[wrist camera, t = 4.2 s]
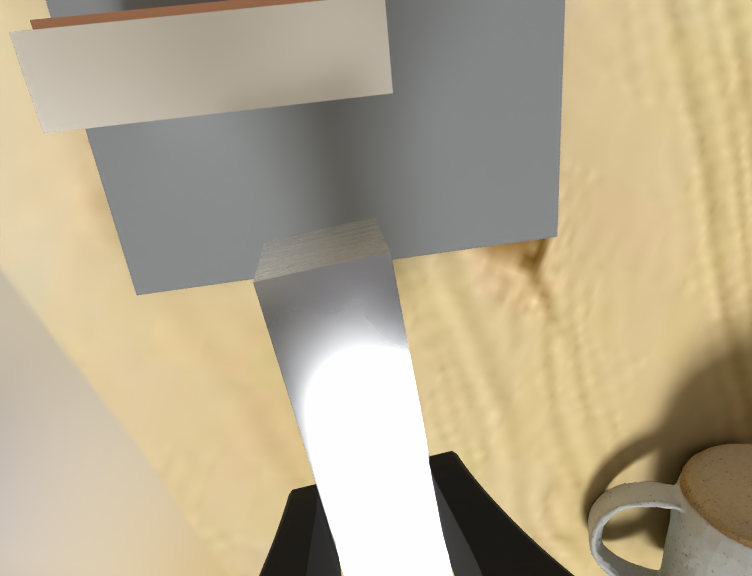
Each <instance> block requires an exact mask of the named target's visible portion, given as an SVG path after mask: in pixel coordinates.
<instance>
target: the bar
mask: <svg viewBox="0 0 752 576" xmlns="http://www.w3.org/2000/svg"><path fill="white" fill-rule="evenodd" d="M253 283H254V287H255V290H256V293H257V296H258V299H259V303H260V306H261V309H262V312H263V315H264V319H265V322H266V325H267V328H268V331H269V335H270V338H271V341H272V344H273V347H274V351H275V354H276V357H277V360H278V363H279V367H280V370H281V373H282V376H283V380H284V383H285V386H286V389H287V392H288V396H289V399H290V402H291V405H292V408H293V412H294V415H295V418H296V421H297V424H298V428H299V431H300V434H301V437H302V440H303V444H304V447H305V450H306V453H307V456H308V460H309V463H310V466H311V469H312V472H313V476H314V479H315V482H316V485H317V488H318V492H319V495H320V498H321V501H322V504H323V508H324V511H325V514H326V517H327V520H328V524H329V527H330V530H331V533H332V536H333V540H334V543H335V546H336V549H337V552H338V556H339V559H340V562H341V565H342V568H343V572H344V575H345V576H452V573H451V568H450V562H449V557H448V553H447V550H446V546H445V543H444V539H443V535H442V530H441V525H440V520H439V515H438V509H437V504H436V499H435V494H434V488H433V483H432V478H431V473H430V467H429V464H431V463H430V457H429V452H428V447H427V441H426V436H425V431H424V426H423V420H422V415H421V410H420V405H419V399H418V394H417V389H416V384H415V378H414V373H413V368H412V363H411V357H410V352H409V347H408V342H407V336H406V331H405V326H404V320H403V315H402V310H401V305H400V299H399V294H398V289H397V284H396V278H395V273H394V268H393V263H392V257H391V252H390V250H389V248H388V245H387V243H386V241H385V239H384V237H383V234H382V232H381V230H380V228H379V226H378V223H377V221H376V219H375V217H371V218H367V219H362V220H358V221H353V222H348V223H344V224H339V225H335V226H330V227H326V228H321V229H316V230H312V231H307V232H303V233H298V234H294V235H289V236H284V237H280V238H275V239H271V240H266V241H265V242H264V245H263V249H262V252H261V256H260V260H259V263H258V267H257V270H256V274H255V277H254V281H253Z"/></svg>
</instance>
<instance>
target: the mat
mask: <svg viewBox="0 0 752 576" xmlns="http://www.w3.org/2000/svg"><path fill="white" fill-rule="evenodd" d="M218 1H228V0H46V3H47V6H48V9H49V12H50V16H51V18H57V17H67V16H77V15H87V14H97V13H107V12H117V11H127V10H137V9H147V8H157V7H168V6H178V5H188V4H198V3H208V2H218ZM385 5H386V16H387V28H388V40H389V52H390V64H391V75H392V87H393V93H391V94H382V95H373V96H364V97H356V98H347V99H338V100H330V101H321V102H312V103H304V104H295V105H286V106H278V107H269V108H260V109H252V110H243V111H234V112H225V113H217V114H208V115H199V116H191V117H182V118H173V119H165V120H156V121H147V122H139V123H130V124H121V125H113V126H104V127H95V128H87V129H86V132H87V136H88V139H89V142H90V145H91V149H92V152H93V155H94V158H95V162H96V165H97V168H98V171H99V175H100V178H101V181H102V184H103V188H104V191H105V194H106V197H107V201H108V204H109V207H110V210H111V214H112V217H113V220H114V223H115V227H116V230H117V233H118V236H119V240H120V243H121V246H122V249H123V253H124V256H125V259H126V262H127V266H128V269H129V272H130V275H131V279H132V282H133V285H134V288H135V291H136V295H142V294H149V293H156V292H163V291H171V290H178V289H185V288H192V287H199V286H206V285H214V284H221V283H228V282H235V281H242V280H249V279H254V277H255V274H256V270H257V267H258V263H259V260H260V256H261V252H262V249H263V245H264V242H265V241H266V240H271V239H275V238H280V237H284V236H289V235H294V234H298V233H303V232H307V231H312V230H316V229H321V228H326V227H330V226H335V225H339V224H344V223H348V222H353V221H358V220H362V219H367V218H371V217H375V219H376V221H377V223H378V226H379V228H380V230H381V232H382V234H383V237H384V239H385V241H386V243H387V245H388V248H389V250H390V252H391V257H392V260H393V259H400V258H407V257H414V256H422V255H429V254H436V253H443V252H450V251H457V250H465V249H472V248H479V247H486V246H493V245H501V244H508V243H515V242H522V241H529V240H536V239H544V238H551V237H557V226H558V196H559V166H560V136H561V106H562V75H563V45H564V15H565V0H385Z"/></svg>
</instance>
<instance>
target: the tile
mask: <svg viewBox="0 0 752 576" xmlns="http://www.w3.org/2000/svg"><path fill="white" fill-rule="evenodd" d="M30 22H31V25H32V28H33V30H25V31H15V32H9V34H10V37H11V40H12V43H13V46H14V49H15V52H16V55H17V58H18V61H19V64H20V67H21V70H22V73H23V76H24V79H25V81H26V84H27V87H28V90H29V93H30V96H31V99H32V102H33V105H34V108H35V111H36V114H37V117H38V120H39V123H40V126H41V129H42V132H43V133H52V132H60V131H69V130H78V129H87V128H95V127H104V126H113V125H121V124H130V123H139V122H147V121H156V120H165V119H173V118H182V117H191V116H199V115H208V114H217V113H225V112H234V111H243V110H252V109H260V108H269V107H278V106H286V105H295V104H304V103H312V102H321V101H330V100H338V99H347V98H356V97H364V96H373V95H382V94H391V93H393V87H392V75H391V64H390V52H389V40H388V28H387V16H386V5H385V0H228V1H218V2H208V3H198V4H188V5H178V6H168V7H157V8H147V9H137V10H127V11H117V12H107V13H97V14H87V15H77V16H67V17H57V18H47V19H36V20H30Z"/></svg>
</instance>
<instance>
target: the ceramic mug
mask: <svg viewBox="0 0 752 576" xmlns="http://www.w3.org/2000/svg"><path fill="white" fill-rule="evenodd" d="M634 507H661V508H666V509H671V518H670V523H669V528H668V531H667V536H666V540H665V546H664V553H663V559H662V564H661V568H660V570H653V569H649V568H645V567H642V566H639V565H636V564H634V563H630V562H628V561H626V560H624V559H622V558H620V557H618V556H616V555H615V554H614V553H613V552H611V551H610V550H608V549H607V548H606V546H604V545H603V543H602V531H603V527H604V525H605V524H606V523H607V522H608V521H609V519H610V518H611V517H612V516H613V515H615V514H616V513H617V512H620V511H622V510H624V509H629V508H634ZM588 532H589V544H590V550H591V554H592V556H593V557H594V559H595V561H596V562H597V564H598V565H599V566H600V567H601V568H602V569H603V570H604V571H605V572H606V573H607V574H608V575H609V576H752V444H748V443H747V444H724V445H719V446H714V447H710V448H708V449H706V450H703V451H701V452H699V453H697V454H695V455H694V456H693V457H691V458H690V459H689V460H688V462H687V463H686V464H685V466H684V467H683V469H682V472H681V474H680V476H679V479H678V481H677V483H676V484H674V485H671V484H664V483H659V482H651V481H644V482H639V483H637V482H634V483H629V484H626V483H624V484H621V485H618V486H615V487H613V488H611V489H609V490H607V491H605V492H604V493H603V494H602V495H601V496H600V497H599V498H598V499H597V500H596V501H595V502H594V504H593V505H592V507H591V510H590V513H589V517H588Z"/></svg>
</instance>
